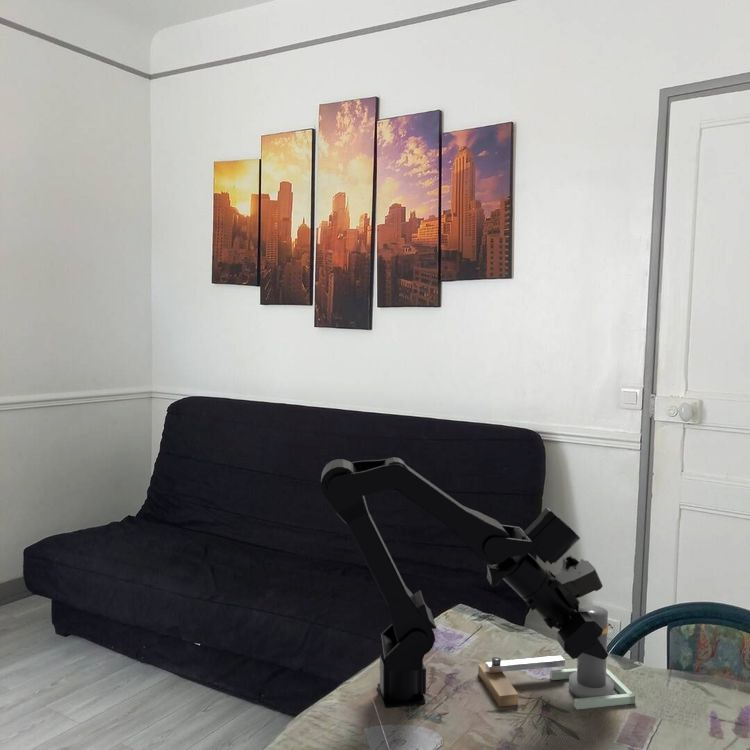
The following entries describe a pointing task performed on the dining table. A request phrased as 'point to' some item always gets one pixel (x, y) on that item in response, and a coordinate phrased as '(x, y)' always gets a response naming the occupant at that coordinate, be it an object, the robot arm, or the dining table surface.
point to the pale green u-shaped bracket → (601, 701)
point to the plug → (592, 663)
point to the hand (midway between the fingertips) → (600, 650)
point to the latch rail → (498, 686)
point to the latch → (524, 663)
